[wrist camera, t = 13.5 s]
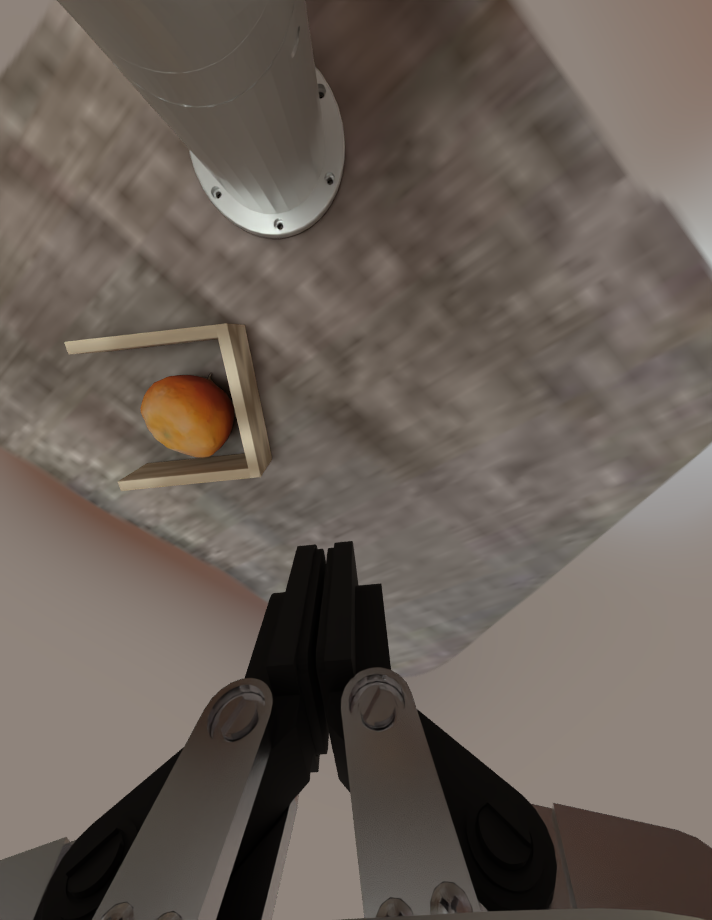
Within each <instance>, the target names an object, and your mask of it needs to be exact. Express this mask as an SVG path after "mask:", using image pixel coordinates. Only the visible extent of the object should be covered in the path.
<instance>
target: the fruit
mask: <svg viewBox="0 0 712 920" xmlns="http://www.w3.org/2000/svg"><path fill="white" fill-rule="evenodd" d="M211 374H212V373H210V375H209V376H208V378H207V379H206V378H203V377H199V376H193V375H177V376H169V377H166V378H164V379H162V380H160V381H157V382H155V383H153V385H152V386H151V387H150V388H149V389H148V391H147V392H146V394H145V395H144V398H143V401H142V405H141V414H142V416H143V418H144V420H145V422H146V425H147V428H148V429H149V430H150V432H151V433H152V434H153V436H154V437H155V438H156V439H157V440H158V441H159V442H161V443H162V444H164V445H165V446H166V447H167V448H169V449H172V450H175V451H178V452H181V453H184V454H187V455H190V456H193V457H210V456H211V455H213V454H214V453H215V452H216V451H217V450H219V449H220V448H221V447H222V445H223V444H224V443H225V442H226V440H227V439H228V437H229V435H230V433H231V430H232V427H233V422H234V415H235V413H234V404H233V402H232V401H231V400H230V398H229V397H228V395H227V394H226V393H225V392H224V391H223V390H222V389H220V388H219V387H217V386H216V385H215V384H214V383H213V381H212V380H211V378H210V377H211Z"/></svg>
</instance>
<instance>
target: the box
mask: <svg viewBox="0 0 712 920" xmlns="http://www.w3.org/2000/svg"><path fill="white" fill-rule="evenodd" d="M215 339H218V340H219V344H220V349H221V353H222V357H223V361H224V366H225V370H226V374H227V379H228V383H229V387H230V391H231V396H232V400H233V404H234V409H235V413H236V417H237V421H238V426H239V430H240V434H241V439H242V443H243V447H244V452H245V453H244V454H234V455H224V456H215V457H205V458H195V459H185V460H176V461H166V462H156V463H147V464H145V465H144V466H142V467H140V468H139V469H137V470H136V471H134V472H132V473H131V474H129V475H128V476H126V477H125V478H123V479H121V480H120V481H118V484H119V486H120V489H121V491H126V490H135V489H145V488H155V487H165V486H175V485H185V484H195V483H205V482H215V481H225V480H235V479H245V478H255V477H261V476H262V474H263V473H264V471H265V470H266V468H267V466H268V465H269V463H270V462H271V460H272V456H271V451H270V446H269V441H268V436H267V431H266V426H265V422H264V417H263V412H262V407H261V402H260V397H259V392H258V387H257V382H256V378H255V373H254V368H253V363H252V358H251V353H250V348H249V343H248V338H247V334H246V329H245V325H239V324H228V323H226V324H217V325H209V326H200V327H191V328H183V329H174V330H165V331H156V332H148V333H139V334H130V335H121V336H113V337H104V338H95V339H87V340H78V341H69V342H64V343H65V346H66V348H67V351H68V353H69V354H81V353H95V352H109V351H117V350H126V349H135V348H144V347H153V346H162V345H170V344H179V343H188V342H197V341H206V340H215Z"/></svg>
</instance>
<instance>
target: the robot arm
mask: <svg viewBox="0 0 712 920" xmlns="http://www.w3.org/2000/svg"><path fill="white" fill-rule="evenodd" d="M57 1H58V2H59V3H60V4H61V5H62V6H63V8H64V9H65V10H66V11H67V12H68V13H69V14H70V15H71V16H72V17H73V18H74V19H75V21H76V22H77V23H78V24H79V25H80V26H81V27H82V28H83V29H84V31H85V32H86V33H87V34H88V35H89V36H90V37H91V38H92V40H93V41H94V42H95V43H96V44H97V45H98V46H99V47H100V48H101V50H102V51H103V52H104V53H105V54H106V55H107V56H108V57H109V59H110V60H111V61H112V62H113V63H114V65H115V66H116V67H117V68H118V69H119V70H120V72H121V73H122V74H123V75H124V76H125V77H126V78H127V79H128V81H129V82H130V83H131V84H132V85H133V86H134V87H135V88H136V90H137V91H138V92H139V93H140V94H141V95H142V96H143V97H144V99H145V100H146V101H147V102H148V103H149V104H150V105H151V106H152V108H153V109H154V110H155V111H156V112H157V113H158V114H159V116H160V117H161V118H162V119H163V120H164V121H165V122H166V123H167V125H168V126H169V127H170V128H171V129H172V130H173V131H174V132H175V134H176V135H177V136H178V137H179V138H180V139H181V140H182V141H183V143H184V144H185V145H186V146H187V147H188V148H189V153H190V157H191V161H192V164H193V167H194V171H195V173H196V176H197V178H198V180H199V182H200V184H201V186H202V188H203V190H204V191H205V193H206V194H207V196H208V197H209V199H210V200H211V202H212V203H213V204H214V206H215V207H216V208H217V209H218V210H219V211H220V212H221V213H222V214H223V215H224V216H225V217H226V218H227V219H228V220H230V221H231V222H232V223H233V224H235V225H236V226H238V227H240V228H241V229H243V230H244V231H246V232H249V233H251V234H254V235H257V236H260V237H266V238H286V237H289V236H293V235H296V234H299V233H301V232H303V231H305V230H306V229H308V228H310V227H311V226H312V225H314V224H315V223H316V222H317V221H318V220H319V219H320V218H321V217H322V216H323V215H324V213H325V212H326V211H327V210H328V208H329V207H330V206H331V204H332V202H333V200H334V198H335V196H336V194H337V192H338V188H339V185H340V182H341V179H342V175H343V168H344V161H345V140H344V130H343V123H342V119H341V115H340V111H339V107H338V104H337V102H336V99H335V97H334V95H333V92H332V90H331V88H330V86H329V84H328V83H327V81H326V80H325V78H324V76H323V75H322V73H321V72H320V71H319V70H318V68H317V67H316V66H315V63H314V57H313V50H312V43H311V36H310V29H309V22H308V15H307V8H306V1H305V0H57ZM320 95H323V96H324V98H322V99H320V98H319V96H320ZM328 180H332V181H333V184H331V185H328V184H327V182H328ZM218 194H222V196H221V197H220V198H219V199H218ZM280 224H282V225H283V229H282V230H279V229H278V226H279V225H280ZM329 735H330V739H331V744H332V749H333V753H334V758H335V763H336V767H337V772H338V777H339V780H340V781H341V782H342V783H343V785H344V786H345V787H346V788H347V789H348V791H349V792H350V793H351V802H352V811H353V820H354V829H355V838H356V847H357V856H358V864H359V873H360V882H361V891H362V900H363V909H364V918H362V919H345V920H712V848H711V847H709V846H708V845H707V844H705V843H703V842H702V841H701V840H699V839H698V838H696V837H693V836H691V835H689V834H686V833H684V832H681V831H679V830H675V829H670V828H666V827H661V826H657V825H652V824H648V823H643V822H638V821H634V820H630V819H624V818H620V817H616V816H611V815H607V814H602V813H598V812H593V811H588V810H584V809H579V808H575V807H570V806H565V805H561V804H556V803H553V806H552V808H548V807H543V806H539V805H534V804H530V803H529V802H528V801H527V799H525V797H523V795H522V794H520V793H519V792H518V791H517V790H516V789H514V788H513V787H512V786H511V785H509V784H508V783H507V782H506V781H504V780H503V779H502V778H501V777H499V776H498V775H497V774H496V773H495V772H493V771H492V770H491V769H489V767H487V766H486V765H485V764H484V763H482V762H481V761H480V760H479V759H478V758H476V757H475V756H474V755H472V754H471V753H470V752H469V751H468V750H466V749H465V748H464V747H462V746H461V745H460V744H459V743H458V742H457V741H455V740H454V739H453V738H452V737H451V736H449V735H448V734H447V733H446V732H444V731H443V730H442V729H441V728H440V727H438V726H437V725H435V723H433V722H432V721H431V720H430V719H428V718H427V717H426V716H425V715H424V714H422V713H421V712H420V711H419V710H417V709H416V705H415V702H414V699H413V696H412V693H411V691H410V689H409V686H408V684H407V682H406V681H405V680H404V679H403V678H402V677H401V676H400V675H399V674H397V673H395V672H393V671H392V670H391V666H390V657H389V648H388V639H387V630H386V621H385V612H384V603H383V594H382V586H381V584H371V585H360V586H358V579H357V571H356V563H355V555H354V547H353V542H352V541H348V542H338V543H335V544H334V548H328V552H327V561H325V555H324V550H323V549H317V546H316V545H306V546H298V547H297V550H296V554H295V557H294V561H293V565H292V569H291V573H290V576H289V580H288V584H287V588H286V592H282V593H273V594H272V595H271V597H270V600H269V603H268V606H267V609H266V612H265V615H264V619H263V622H262V626H261V628H260V631H259V634H258V638H257V641H256V644H255V647H254V650H253V653H252V657H251V660H250V663H249V666H248V669H247V672H246V676H245V679H240V680H237V681H234V682H232V683H230V684H228V685H227V686H225V687H224V688H222V689H221V690H220V691H219V692H218V693H217V694H216V695H215V696H214V697H212V699H211V700H210V702H209V703H208V705H207V706H206V707H205V709H204V711H203V713H202V714H201V716H200V718H199V720H198V722H197V724H196V726H195V727H194V729H193V731H192V733H191V735H190V737H189V739H188V741H187V742H186V744H185V746H184V747H183V748H182V749H181V750H180V751H179V752H177V753H176V754H175V755H174V756H173V757H172V758H170V759H169V760H168V761H167V762H166V763H164V764H163V765H162V766H161V767H160V768H158V769H157V770H156V771H155V772H154V773H153V774H151V775H150V776H149V777H148V778H147V779H145V780H144V781H143V782H142V783H141V784H139V785H138V786H137V787H136V788H135V789H133V790H132V791H131V792H130V793H129V794H128V795H126V796H125V797H124V798H123V799H122V800H120V801H119V802H118V803H117V804H116V805H114V807H112V808H111V809H110V810H109V811H107V812H106V813H105V814H104V815H103V816H102V817H101V818H99V819H98V820H97V821H95V823H93V824H92V825H91V826H90V827H89V828H88V829H87V830H86V831H85V832H84V833H83V834H82V835H81V836H80V837H79V838H78V839H77V840H75V841H71V842H70V841H69V840H68V838H67V837H65V838H62V839H59V840H56V841H53V842H50V843H48V844H45V845H42V846H39V847H36V848H34V849H31V850H28V851H25V852H22V853H19V854H17V855H14V856H11V857H8V858H5V859H3V860H0V920H272V916H273V912H274V907H275V903H276V898H277V894H278V890H279V885H280V881H281V877H282V872H283V868H284V864H285V859H286V855H287V850H288V846H289V842H290V838H291V833H292V829H293V824H294V820H295V816H296V811H297V806H298V805H297V804H298V797H299V795H298V794H299V793H300V792H301V791H302V789H303V788H304V787H305V786H306V785H307V783H308V782H309V781H310V772H318V769H319V756H320V754H327V750H328V739H329ZM343 920H344V919H343Z"/></svg>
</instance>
